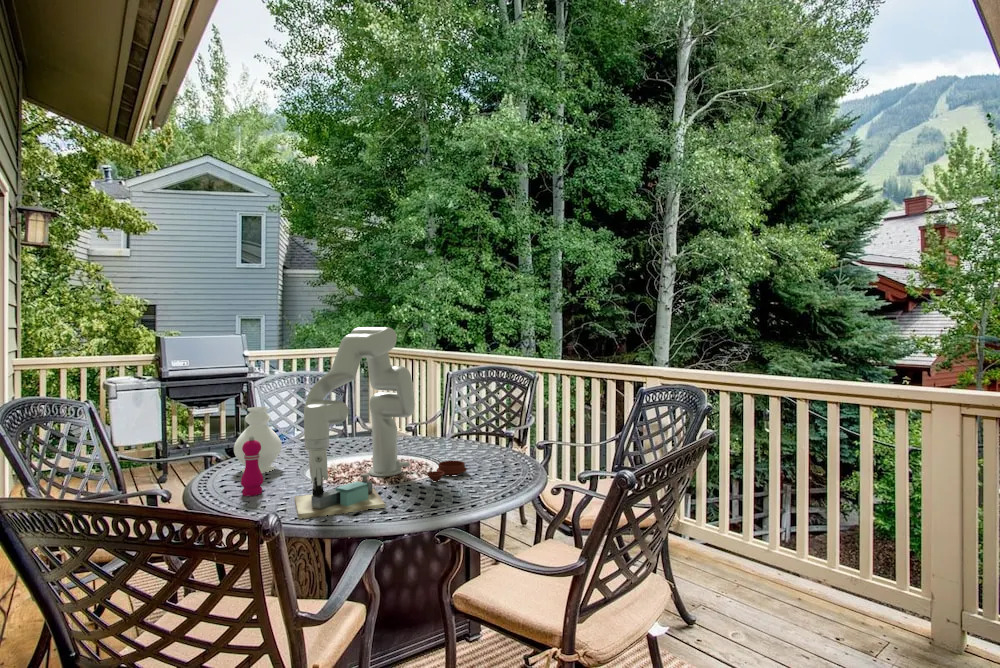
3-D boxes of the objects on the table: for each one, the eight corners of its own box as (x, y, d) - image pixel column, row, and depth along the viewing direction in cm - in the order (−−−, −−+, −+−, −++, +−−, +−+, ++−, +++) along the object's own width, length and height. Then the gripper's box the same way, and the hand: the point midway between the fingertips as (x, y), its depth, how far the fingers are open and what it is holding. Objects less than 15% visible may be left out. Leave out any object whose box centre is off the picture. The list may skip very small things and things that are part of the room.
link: (365, 490, 202) (365, 479, 202) (375, 492, 199) (375, 482, 199) (310, 507, 184) (310, 495, 184) (321, 509, 181) (320, 498, 181)
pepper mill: (245, 490, 208) (244, 434, 208) (266, 490, 209) (265, 433, 209) (237, 496, 201) (237, 438, 201) (259, 496, 202) (259, 437, 201)
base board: (373, 492, 206) (373, 469, 206) (385, 508, 187) (385, 483, 187) (294, 500, 196) (294, 477, 196) (298, 519, 178) (298, 492, 177)
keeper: (357, 496, 195) (357, 481, 195) (368, 499, 192) (368, 483, 192) (336, 503, 188) (335, 487, 188) (347, 506, 185) (347, 490, 185)
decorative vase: (288, 464, 247) (287, 404, 247) (272, 475, 229) (272, 411, 229) (244, 465, 247) (244, 405, 246) (226, 476, 229) (225, 411, 229)
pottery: (472, 473, 232) (472, 462, 232) (444, 485, 214) (444, 473, 214) (447, 469, 238) (447, 459, 238) (417, 481, 220) (417, 469, 220)
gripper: (331, 447, 182) (333, 506, 183) (326, 437, 196) (327, 492, 197) (306, 449, 179) (307, 509, 180) (302, 439, 193) (304, 495, 194)
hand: (318, 500), depth 188 cm, fingers closed
